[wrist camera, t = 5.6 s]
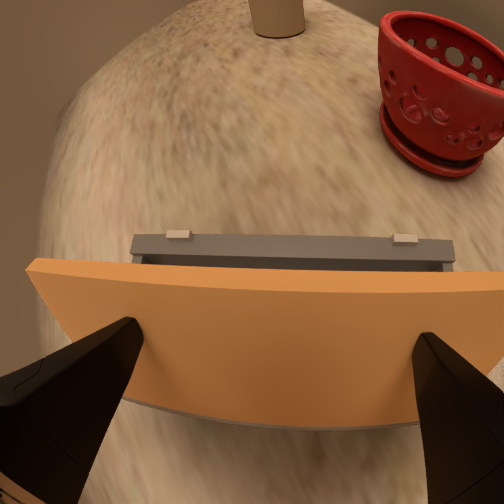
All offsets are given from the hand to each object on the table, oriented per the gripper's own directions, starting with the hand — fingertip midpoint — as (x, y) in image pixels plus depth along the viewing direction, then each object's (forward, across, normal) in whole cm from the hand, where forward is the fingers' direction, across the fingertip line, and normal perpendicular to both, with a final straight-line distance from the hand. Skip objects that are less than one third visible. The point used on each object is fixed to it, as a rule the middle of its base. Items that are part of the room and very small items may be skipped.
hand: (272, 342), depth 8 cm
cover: (+1, 0, +3) cm, 3 cm away
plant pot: (+22, -14, -6) cm, 27 cm away
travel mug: (+40, +2, -23) cm, 46 cm away
